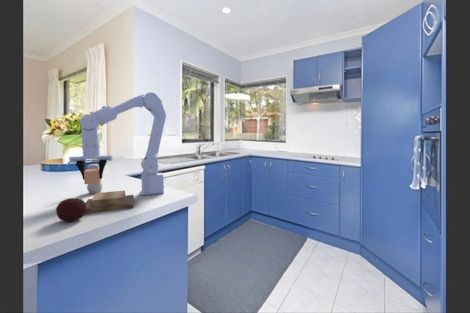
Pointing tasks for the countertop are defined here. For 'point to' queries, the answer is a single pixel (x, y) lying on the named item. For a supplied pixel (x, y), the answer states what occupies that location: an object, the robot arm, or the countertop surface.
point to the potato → (71, 209)
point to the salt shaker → (97, 186)
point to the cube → (91, 176)
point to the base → (110, 208)
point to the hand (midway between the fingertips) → (93, 178)
